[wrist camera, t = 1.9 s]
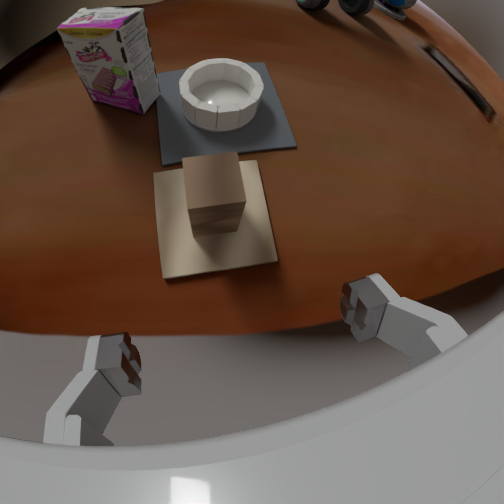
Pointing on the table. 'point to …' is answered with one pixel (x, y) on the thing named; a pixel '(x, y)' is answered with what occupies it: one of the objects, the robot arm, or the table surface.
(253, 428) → the robot arm
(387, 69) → the table surface
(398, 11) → the webcam
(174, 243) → the lid
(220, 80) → the bowl
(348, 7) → the headphones
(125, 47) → the candy bar box
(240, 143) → the mat
